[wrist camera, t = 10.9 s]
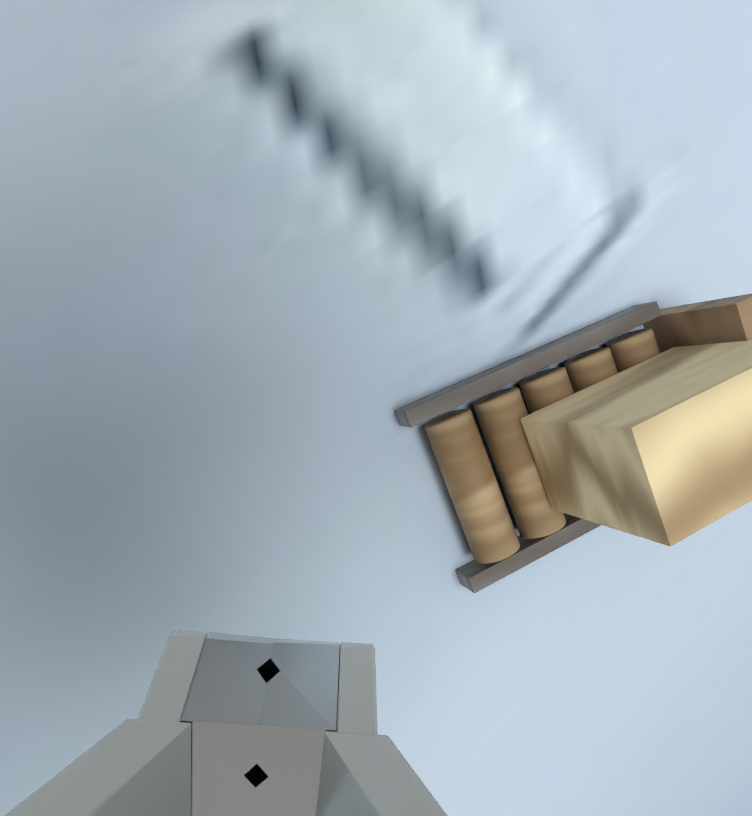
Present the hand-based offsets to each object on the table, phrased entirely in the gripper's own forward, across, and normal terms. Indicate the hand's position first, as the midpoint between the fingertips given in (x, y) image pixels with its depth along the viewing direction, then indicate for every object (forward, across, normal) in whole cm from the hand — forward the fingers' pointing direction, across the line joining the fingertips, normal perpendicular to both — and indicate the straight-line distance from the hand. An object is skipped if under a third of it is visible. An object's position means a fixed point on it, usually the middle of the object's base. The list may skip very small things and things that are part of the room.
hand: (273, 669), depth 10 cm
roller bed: (+31, -15, +10) cm, 36 cm away
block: (+30, -18, +8) cm, 36 cm away
